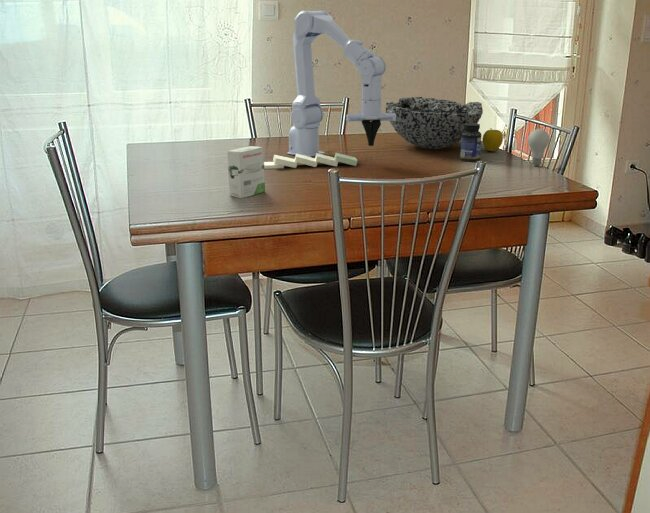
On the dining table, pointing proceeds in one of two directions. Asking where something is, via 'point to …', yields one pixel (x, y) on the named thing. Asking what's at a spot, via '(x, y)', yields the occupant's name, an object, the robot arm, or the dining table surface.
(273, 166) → the tile
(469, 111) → the bowl
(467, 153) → the pill bottle
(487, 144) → the apple
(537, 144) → the lightbulb
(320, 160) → the tile
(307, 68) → the robot arm
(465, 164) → the dining table surface
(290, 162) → the tile
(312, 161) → the tile
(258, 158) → the ink box
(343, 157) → the tile
